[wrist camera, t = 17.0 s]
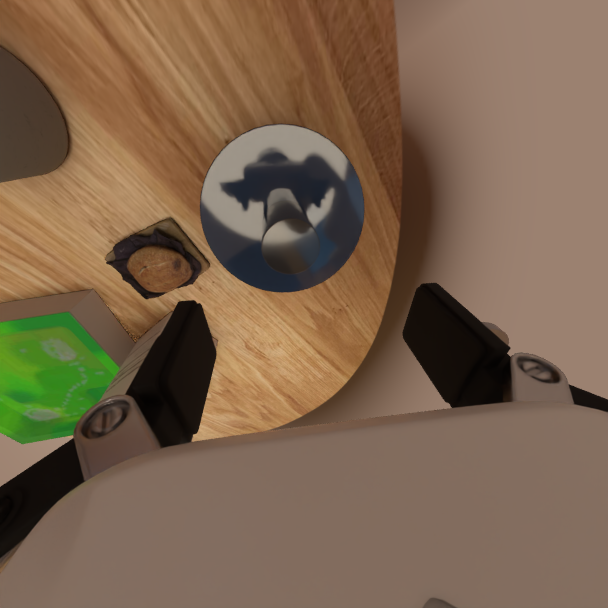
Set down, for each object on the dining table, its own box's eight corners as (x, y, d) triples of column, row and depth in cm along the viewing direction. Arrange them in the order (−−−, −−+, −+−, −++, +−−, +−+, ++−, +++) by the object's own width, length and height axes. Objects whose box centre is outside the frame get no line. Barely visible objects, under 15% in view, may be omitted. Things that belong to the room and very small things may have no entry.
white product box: (220, 340, 40) (200, 429, 28) (185, 365, 42) (153, 457, 30) (172, 308, 35) (124, 400, 23) (135, 338, 37) (74, 436, 25)
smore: (169, 212, 27) (158, 221, 24) (215, 269, 32) (210, 282, 29) (99, 252, 29) (80, 265, 26) (152, 301, 34) (142, 317, 31)
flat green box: (-105, 319, 30) (-161, 347, 26) (93, 289, 31) (68, 311, 27) (43, 416, 45) (22, 444, 41) (174, 393, 46) (165, 418, 42)
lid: (372, 123, 17) (413, 120, 13) (351, 282, 26) (371, 317, 21) (179, 124, 16) (142, 121, 11) (222, 291, 24) (211, 332, 19)
